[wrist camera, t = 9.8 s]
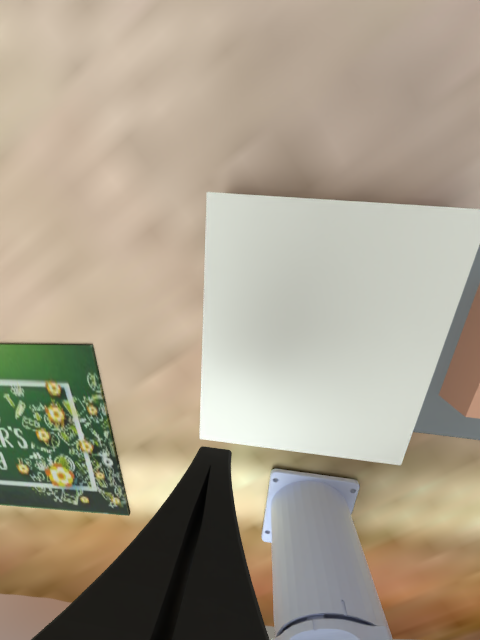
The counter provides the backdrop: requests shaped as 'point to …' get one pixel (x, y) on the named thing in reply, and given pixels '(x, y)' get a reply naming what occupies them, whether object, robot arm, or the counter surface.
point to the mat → (435, 409)
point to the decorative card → (56, 431)
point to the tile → (465, 367)
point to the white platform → (326, 320)
